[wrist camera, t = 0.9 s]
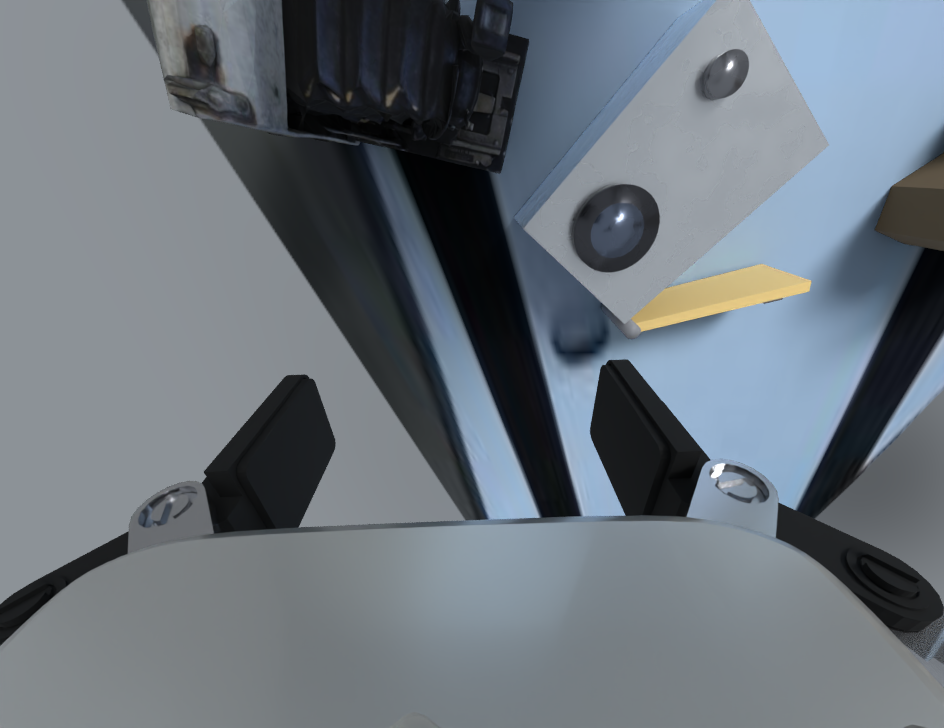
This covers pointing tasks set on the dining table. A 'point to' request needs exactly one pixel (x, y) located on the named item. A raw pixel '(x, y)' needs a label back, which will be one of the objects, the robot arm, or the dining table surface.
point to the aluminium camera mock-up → (675, 158)
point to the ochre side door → (712, 297)
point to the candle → (916, 208)
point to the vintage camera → (349, 71)
